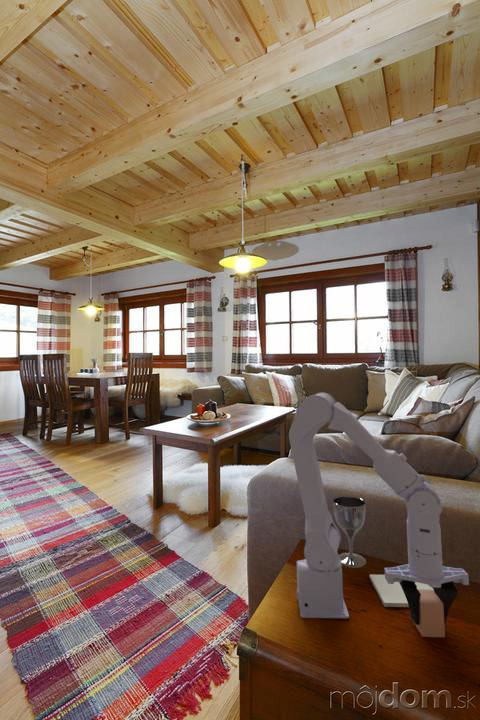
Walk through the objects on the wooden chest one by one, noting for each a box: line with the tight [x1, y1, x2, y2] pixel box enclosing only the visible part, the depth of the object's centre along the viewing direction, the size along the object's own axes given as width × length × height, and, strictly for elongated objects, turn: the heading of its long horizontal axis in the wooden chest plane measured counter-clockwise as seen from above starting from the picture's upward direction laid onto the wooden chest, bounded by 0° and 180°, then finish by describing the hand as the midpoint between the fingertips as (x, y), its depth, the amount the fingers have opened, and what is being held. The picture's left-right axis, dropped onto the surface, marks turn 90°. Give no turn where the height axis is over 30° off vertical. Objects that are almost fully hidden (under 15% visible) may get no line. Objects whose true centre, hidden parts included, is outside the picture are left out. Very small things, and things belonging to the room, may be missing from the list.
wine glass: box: [332, 495, 367, 569], centre depth 89 cm, size 8×8×15 cm
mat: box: [369, 574, 434, 608], centre depth 76 cm, size 12×10×1 cm
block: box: [412, 589, 446, 638], centre depth 65 cm, size 4×4×6 cm
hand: (428, 621), depth 65 cm, fingers closed on block, 4 cm apart
